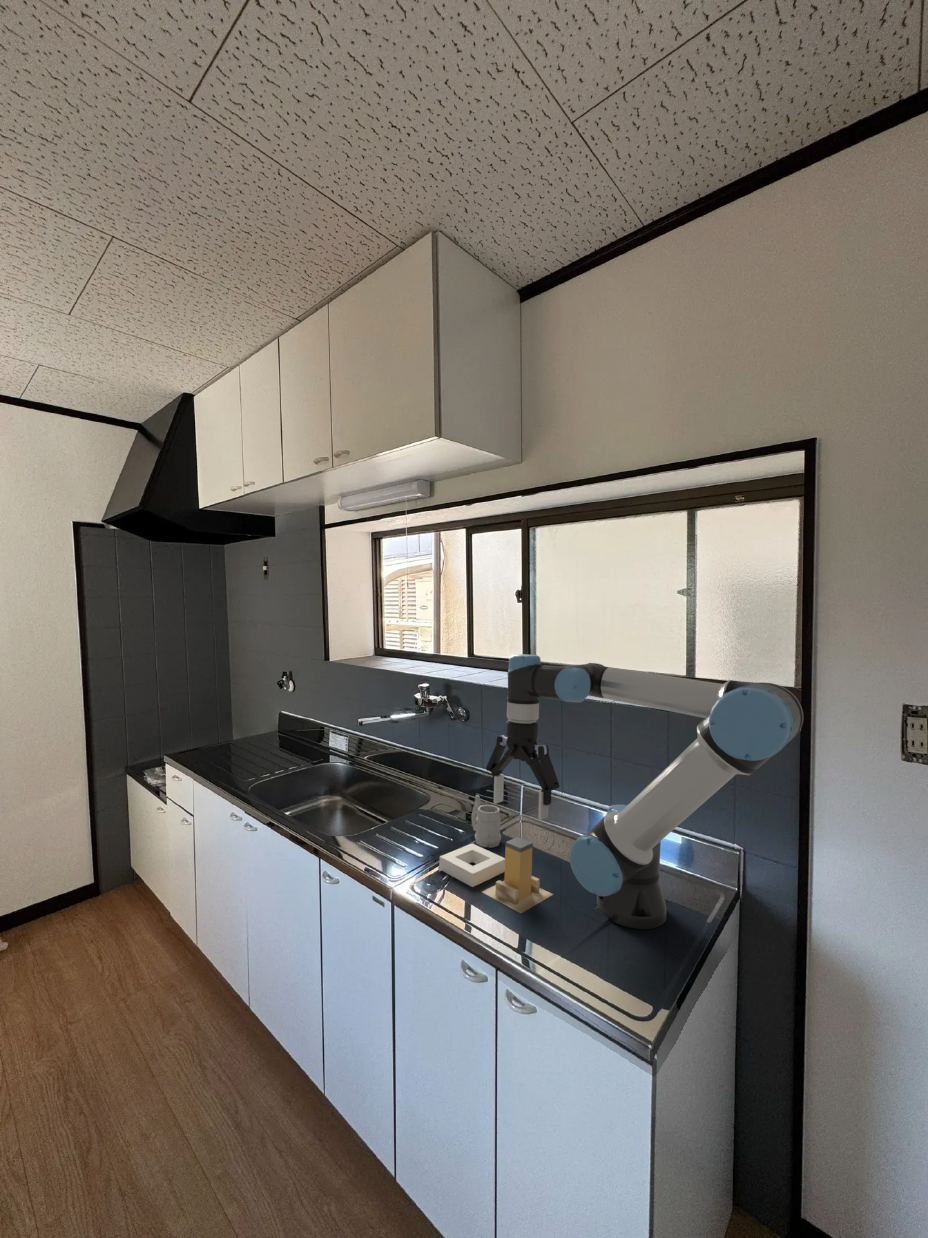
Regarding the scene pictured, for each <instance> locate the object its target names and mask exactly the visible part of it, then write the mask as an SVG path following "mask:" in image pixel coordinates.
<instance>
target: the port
mask: <svg viewBox="0 0 928 1238" xmlns="http://www.w3.org/2000/svg"><path fill="white" fill-rule="evenodd" d="M471 863H474V865H472V864H471ZM438 865H439V867H438V872H441V871H442V872H443V873H446V874H447V875H449V876H451V877H453V878H455V879H457V880H458V881H460V882H462V883H464V884H466V885H468V886H470V887H472V888H474V887H475V886H478V885H480V884H482V883H484V882H486V881H489V880H491V879H493V878H494V877H496V876H499V875H501V874H503V873H505V857H503V856H501V855H499V854H497V853H494V852H492V851H490V850H487V848H486V849H485V848H484V847H482V846H479V845H478V844H475V843H470V844H468V845H464V846H461V847H459V848H457V849H455V850H453V851H450V852H447V853H444V854H442V855H439V864H438Z"/></svg>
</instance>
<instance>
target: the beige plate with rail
mask: <svg viewBox="0 0 928 1238" xmlns="http://www.w3.org/2000/svg"><path fill="white" fill-rule="evenodd" d="M540 883H541V882H540V878H538V877H537V876H534V875H532V877H531V894H529V895H528V896H526V897H524V898H522V899H520V900H519V890H518V889H516V888H514V887H512V886H510V885H508V884H506V883H504V880H503V881H502V880H497V881H495V885H493V886H491V887H487V888H486V889H485V890H483V891H481V893H483V894H484V895H486V896H488V897H489V898H491V899H494V900H495V901H497V902H499V903H501V904H503V905H505V906H506V907H508V908H510V909H511V910H513V911H515V912H518V914H519V913H520V914H523V913H525V912H526V911H528V910H530V909H532V908H533V907H535V906H536V905H538V904H540V903H542V902H543V901H545V900H547V899H549V898H550V897H552V896H554V893H552V892H549V891H547V890H545V889H543V888H541V887H540Z"/></svg>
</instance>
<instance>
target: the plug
mask: <svg viewBox="0 0 928 1238" xmlns="http://www.w3.org/2000/svg"><path fill="white" fill-rule="evenodd" d="M533 845H534V844H533V842H532V841H529V840H526V839H524V838H521V837H519V836H516V837H514V838H512V839H509V840H508V841H505V849H504V850H505V852H504V853H505V854H504V855H505V857H504V858H505V872H504V877H503V878H504V880H503V881H504V883H506V884H508V885H510V886H512V887H514V888H516V889H518V890H519V900H520V899H522V898H524V897H526V896H528V895H529V894H531V877H532V876H533V875H532V874H533V873H532V872H533Z"/></svg>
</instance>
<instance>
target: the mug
mask: <svg viewBox="0 0 928 1238" xmlns="http://www.w3.org/2000/svg"><path fill="white" fill-rule="evenodd" d="M501 819H502V818H501V816H500V807H498V806H496V805H491V804H485V805H483V804H482V805H481V797H480V795H479V794H476V795H475V797H474V804H473V807H472V813H471V826H472V829H473V831H474V832H475V834H474V839H475V843H476V844H475V845H478V846H479V847H481V848H488V849H489V848H492V849H493V848H495V847H498V846H500V843H501V840H502V834H501V832H500V831H501V828H500V826H501V825H500V824H501V823H502V820H501Z"/></svg>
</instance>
